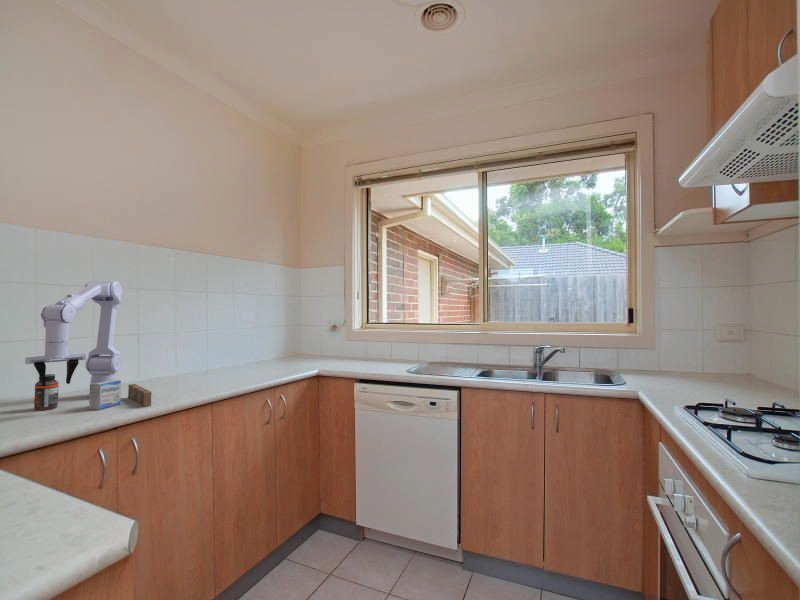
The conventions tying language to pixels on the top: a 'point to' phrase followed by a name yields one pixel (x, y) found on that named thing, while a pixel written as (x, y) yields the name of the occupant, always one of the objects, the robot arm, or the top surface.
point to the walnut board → (139, 395)
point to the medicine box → (105, 394)
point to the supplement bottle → (46, 393)
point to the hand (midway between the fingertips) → (56, 384)
